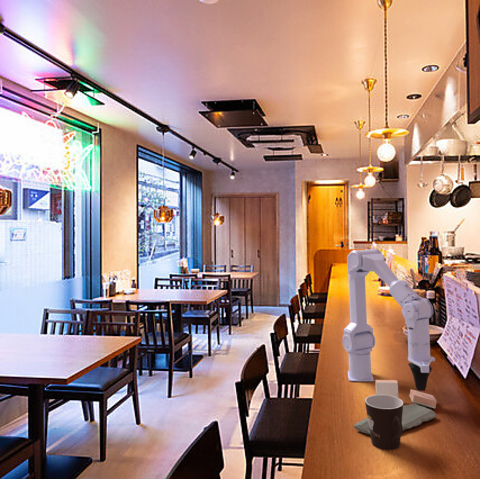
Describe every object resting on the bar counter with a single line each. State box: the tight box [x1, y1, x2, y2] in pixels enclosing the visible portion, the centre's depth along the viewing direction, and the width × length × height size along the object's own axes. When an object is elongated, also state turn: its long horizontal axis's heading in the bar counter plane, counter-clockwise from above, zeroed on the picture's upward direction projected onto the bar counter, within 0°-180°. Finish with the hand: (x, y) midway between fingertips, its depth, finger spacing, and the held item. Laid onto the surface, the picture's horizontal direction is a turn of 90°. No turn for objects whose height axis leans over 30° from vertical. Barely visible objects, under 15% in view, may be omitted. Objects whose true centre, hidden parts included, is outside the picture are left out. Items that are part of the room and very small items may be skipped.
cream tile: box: [374, 379, 399, 398], centre depth 129 cm, size 2×6×6 cm, turn 79°
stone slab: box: [353, 403, 437, 435], centre depth 114 cm, size 22×3×10 cm
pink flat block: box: [409, 388, 438, 409], centre depth 125 cm, size 2×6×6 cm
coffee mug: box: [364, 394, 404, 451], centre depth 103 cm, size 12×9×10 cm
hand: (420, 390), depth 125 cm, fingers closed
